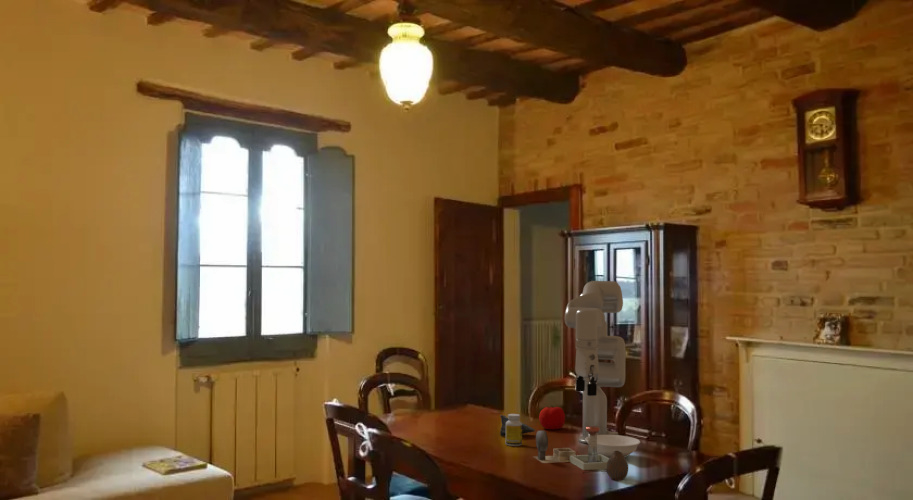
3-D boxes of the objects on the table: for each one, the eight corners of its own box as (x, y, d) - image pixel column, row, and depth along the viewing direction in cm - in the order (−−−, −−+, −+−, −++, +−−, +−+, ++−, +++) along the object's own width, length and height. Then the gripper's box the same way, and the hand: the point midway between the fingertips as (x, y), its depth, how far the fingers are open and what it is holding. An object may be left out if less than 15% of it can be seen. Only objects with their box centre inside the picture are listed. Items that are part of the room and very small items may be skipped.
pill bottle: (520, 447, 300) (521, 416, 300) (504, 446, 301) (504, 415, 302) (522, 443, 306) (523, 413, 307) (506, 442, 308) (506, 413, 308)
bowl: (629, 466, 271) (629, 447, 271) (576, 458, 281) (576, 441, 282) (647, 456, 288) (647, 438, 288) (597, 449, 298) (597, 432, 298)
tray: (601, 463, 275) (601, 454, 275) (616, 471, 263) (616, 462, 263) (569, 464, 272) (569, 455, 272) (583, 472, 260) (583, 463, 260)
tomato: (571, 429, 337) (571, 405, 338) (549, 432, 330) (549, 408, 331) (554, 425, 347) (554, 402, 347) (532, 428, 339) (532, 404, 340)
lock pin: (595, 463, 270) (596, 425, 271) (601, 467, 266) (601, 428, 266) (583, 464, 269) (583, 426, 270) (589, 468, 265) (589, 429, 265)
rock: (494, 433, 328) (493, 432, 318) (501, 414, 329) (500, 413, 320) (529, 447, 325) (529, 447, 315) (535, 428, 326) (536, 427, 317)
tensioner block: (569, 457, 283) (569, 427, 283) (580, 464, 273) (580, 432, 273) (532, 459, 279) (533, 428, 280) (542, 465, 270) (542, 433, 270)
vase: (604, 480, 252) (605, 452, 252) (608, 475, 258) (608, 448, 258) (626, 482, 249) (626, 454, 249) (629, 477, 256) (629, 450, 256)
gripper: (607, 346, 267) (606, 397, 266) (585, 341, 284) (585, 389, 283) (586, 347, 265) (586, 397, 265) (566, 342, 282) (566, 389, 281)
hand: (585, 393), depth 274 cm, fingers open, 9 cm apart
